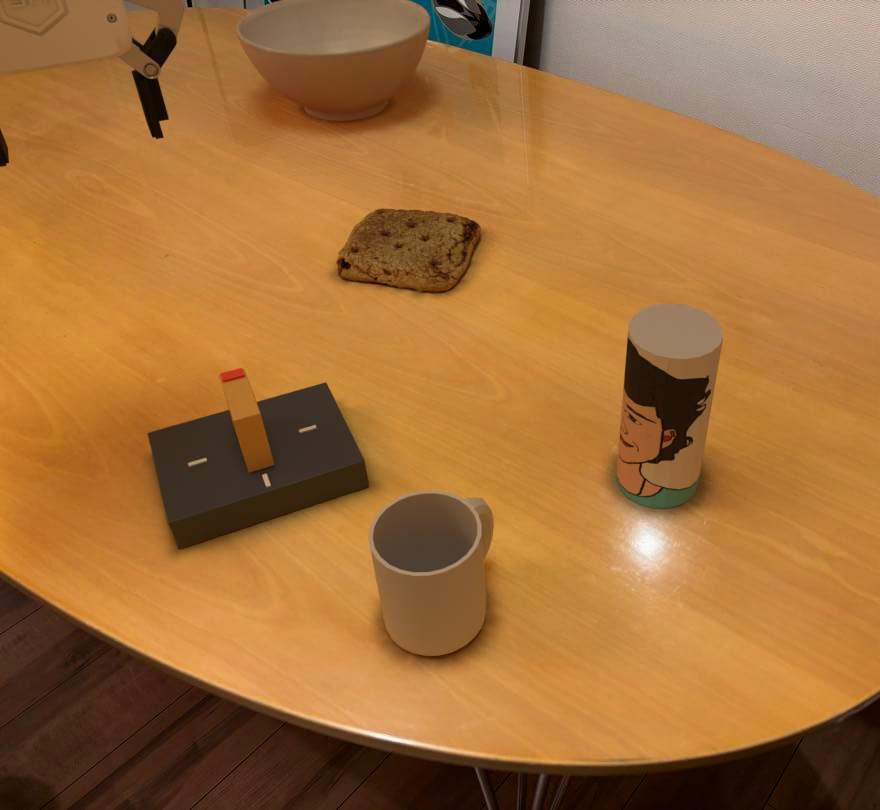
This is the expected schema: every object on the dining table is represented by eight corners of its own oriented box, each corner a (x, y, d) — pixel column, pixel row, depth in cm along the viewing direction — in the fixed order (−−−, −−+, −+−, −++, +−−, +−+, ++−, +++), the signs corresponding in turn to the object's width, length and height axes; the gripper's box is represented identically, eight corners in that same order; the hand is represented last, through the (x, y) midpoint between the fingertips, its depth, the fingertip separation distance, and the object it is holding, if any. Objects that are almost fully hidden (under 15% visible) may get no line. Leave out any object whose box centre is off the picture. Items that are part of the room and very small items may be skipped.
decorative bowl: (453, 76, 140) (448, -4, 133) (410, 148, 120) (401, 58, 112) (292, 67, 143) (277, -12, 135) (223, 136, 123) (202, 47, 115)
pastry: (310, 243, 101) (305, 219, 99) (444, 204, 108) (442, 181, 106) (373, 316, 90) (369, 291, 88) (518, 268, 97) (517, 244, 95)
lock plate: (178, 549, 67) (167, 521, 65) (157, 458, 74) (146, 431, 72) (369, 486, 72) (364, 458, 70) (331, 407, 79) (325, 380, 77)
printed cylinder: (639, 440, 76) (654, 293, 66) (711, 469, 73) (738, 321, 64) (601, 487, 72) (611, 338, 62) (676, 520, 69) (699, 370, 59)
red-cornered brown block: (274, 465, 69) (259, 410, 66) (249, 473, 69) (232, 418, 65) (258, 419, 73) (243, 365, 70) (234, 426, 73) (217, 372, 69)
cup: (362, 625, 62) (344, 541, 56) (454, 536, 68) (446, 452, 62) (441, 678, 58) (431, 595, 53) (530, 580, 65) (529, 495, 59)
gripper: (-220, -126, 43) (-64, 194, 54) (151, -153, 49) (222, 142, 60) (-200, -151, 48) (-62, 147, 59) (133, -172, 54) (202, 103, 65)
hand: (81, 144), depth 60 cm, fingers open, 9 cm apart
